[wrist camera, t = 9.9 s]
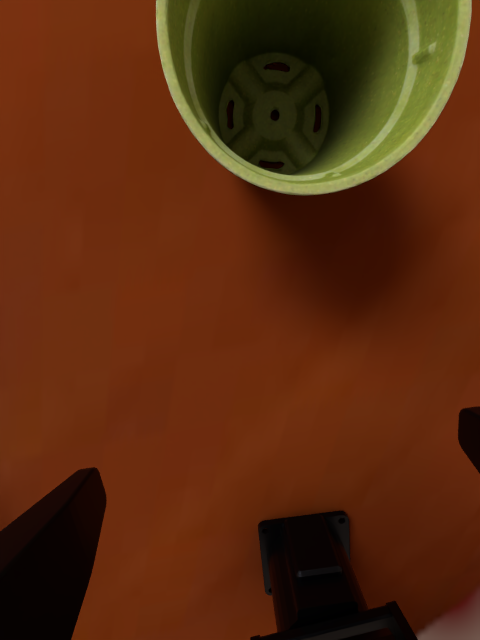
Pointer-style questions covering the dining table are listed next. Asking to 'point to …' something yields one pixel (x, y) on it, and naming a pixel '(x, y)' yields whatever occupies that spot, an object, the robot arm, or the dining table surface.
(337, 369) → the dining table surface
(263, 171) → the plant pot
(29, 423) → the dining table surface
